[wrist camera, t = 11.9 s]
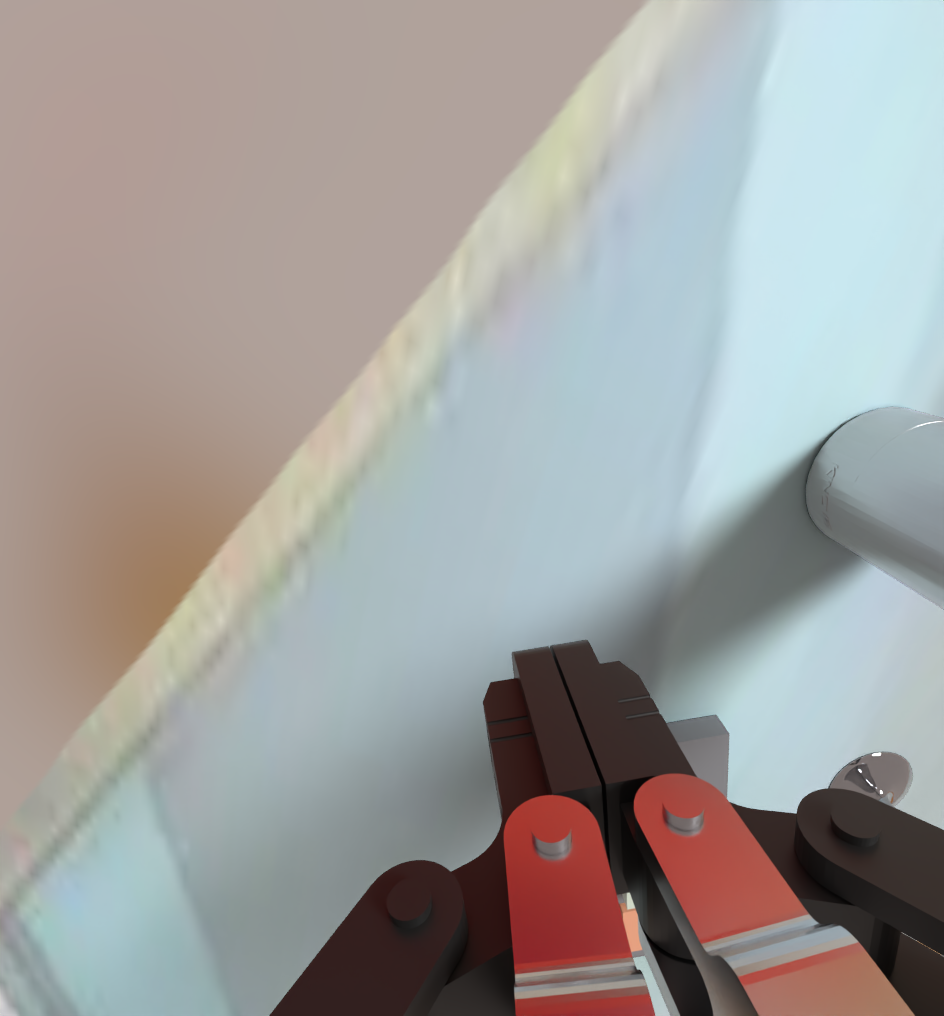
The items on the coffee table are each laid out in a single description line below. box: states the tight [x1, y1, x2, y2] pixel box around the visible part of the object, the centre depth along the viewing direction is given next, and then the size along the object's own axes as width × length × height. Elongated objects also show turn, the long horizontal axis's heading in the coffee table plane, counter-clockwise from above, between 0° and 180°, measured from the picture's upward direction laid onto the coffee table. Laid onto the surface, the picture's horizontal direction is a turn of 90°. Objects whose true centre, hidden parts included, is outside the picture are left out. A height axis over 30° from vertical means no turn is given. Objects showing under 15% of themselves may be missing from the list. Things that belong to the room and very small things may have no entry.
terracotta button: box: [619, 903, 642, 952], centre depth 50 cm, size 5×5×3 cm
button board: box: [617, 715, 729, 958], centre depth 48 cm, size 12×22×2 cm, turn 7°
